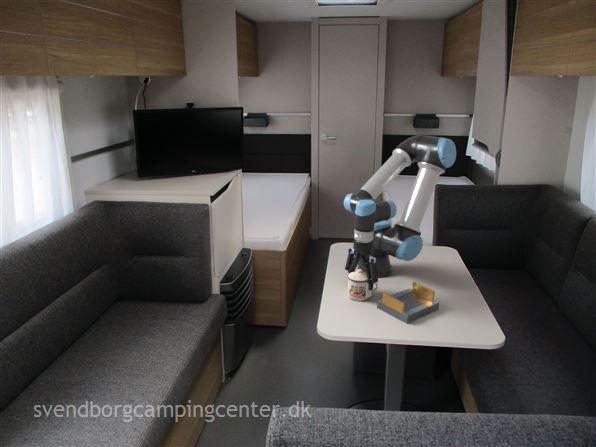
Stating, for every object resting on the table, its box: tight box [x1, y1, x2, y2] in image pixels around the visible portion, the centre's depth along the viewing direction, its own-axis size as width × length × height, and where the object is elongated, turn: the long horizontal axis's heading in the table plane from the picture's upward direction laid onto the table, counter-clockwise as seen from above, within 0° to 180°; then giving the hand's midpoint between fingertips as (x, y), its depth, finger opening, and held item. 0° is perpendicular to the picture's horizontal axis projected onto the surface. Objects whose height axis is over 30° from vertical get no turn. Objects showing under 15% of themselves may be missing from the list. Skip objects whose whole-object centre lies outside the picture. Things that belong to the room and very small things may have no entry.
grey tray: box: [376, 281, 440, 324], centre depth 192 cm, size 15×18×7 cm
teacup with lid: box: [347, 268, 379, 302], centre depth 200 cm, size 12×9×12 cm
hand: (359, 292), depth 202 cm, fingers closed on teacup with lid, 9 cm apart
